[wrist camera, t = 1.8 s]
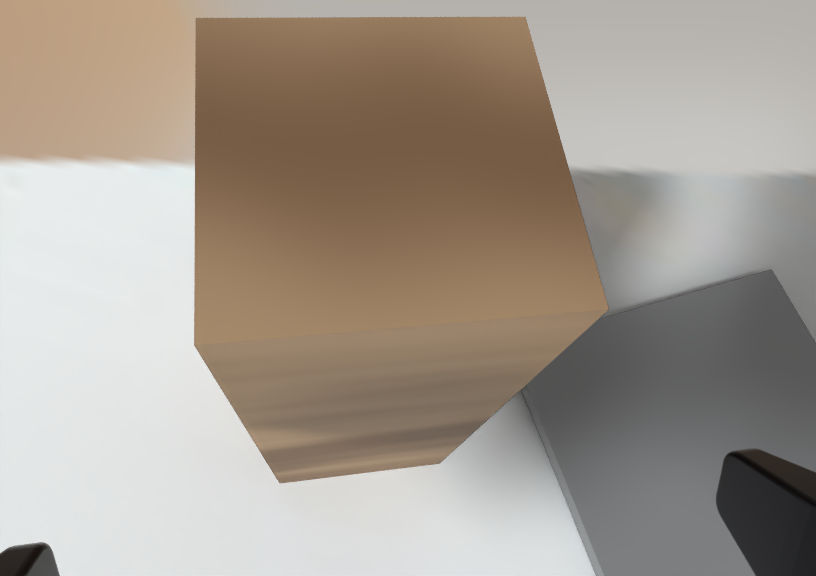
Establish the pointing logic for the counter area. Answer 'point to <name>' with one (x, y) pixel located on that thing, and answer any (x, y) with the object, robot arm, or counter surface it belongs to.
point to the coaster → (674, 421)
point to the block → (379, 233)
